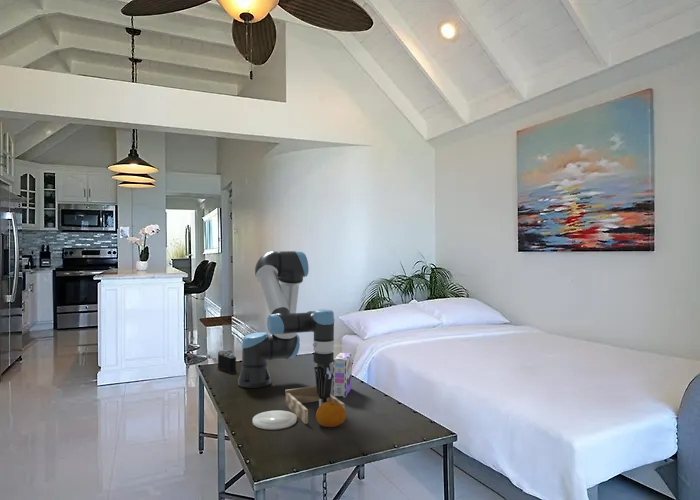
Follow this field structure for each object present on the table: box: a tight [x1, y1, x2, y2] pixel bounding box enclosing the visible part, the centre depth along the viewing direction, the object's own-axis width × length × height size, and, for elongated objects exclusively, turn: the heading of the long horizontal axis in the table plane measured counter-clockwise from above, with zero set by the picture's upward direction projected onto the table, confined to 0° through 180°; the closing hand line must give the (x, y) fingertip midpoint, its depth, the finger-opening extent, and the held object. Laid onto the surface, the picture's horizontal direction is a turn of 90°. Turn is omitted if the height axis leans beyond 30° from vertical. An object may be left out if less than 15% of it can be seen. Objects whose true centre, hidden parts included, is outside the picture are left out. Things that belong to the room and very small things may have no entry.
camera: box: [217, 349, 237, 373], centre depth 243 cm, size 15×7×10 cm, turn 45°
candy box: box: [332, 352, 353, 398], centre depth 203 cm, size 14×6×16 cm, turn 168°
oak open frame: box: [284, 385, 346, 425], centre depth 180 cm, size 23×16×6 cm
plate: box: [252, 409, 298, 431], centre depth 168 cm, size 16×16×1 cm
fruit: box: [315, 402, 347, 428], centre depth 165 cm, size 10×10×8 cm
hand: (323, 414), depth 171 cm, fingers closed
